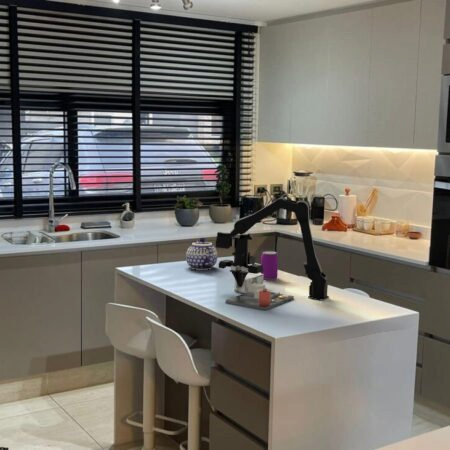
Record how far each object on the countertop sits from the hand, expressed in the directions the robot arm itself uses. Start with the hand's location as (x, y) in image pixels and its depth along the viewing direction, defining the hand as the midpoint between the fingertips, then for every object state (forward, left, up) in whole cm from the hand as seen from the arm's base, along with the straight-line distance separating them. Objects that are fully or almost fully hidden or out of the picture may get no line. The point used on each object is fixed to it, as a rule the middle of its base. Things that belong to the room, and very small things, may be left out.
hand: (240, 287), depth 288 cm
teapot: (+42, -31, -3) cm, 52 cm away
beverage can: (+5, -32, -3) cm, 32 cm away
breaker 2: (-15, +7, -1) cm, 17 cm away
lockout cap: (-20, +13, -1) cm, 23 cm away
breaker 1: (-8, 0, -1) cm, 8 cm away
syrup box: (+1, -16, 0) cm, 16 cm away
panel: (-13, +5, -3) cm, 14 cm away
